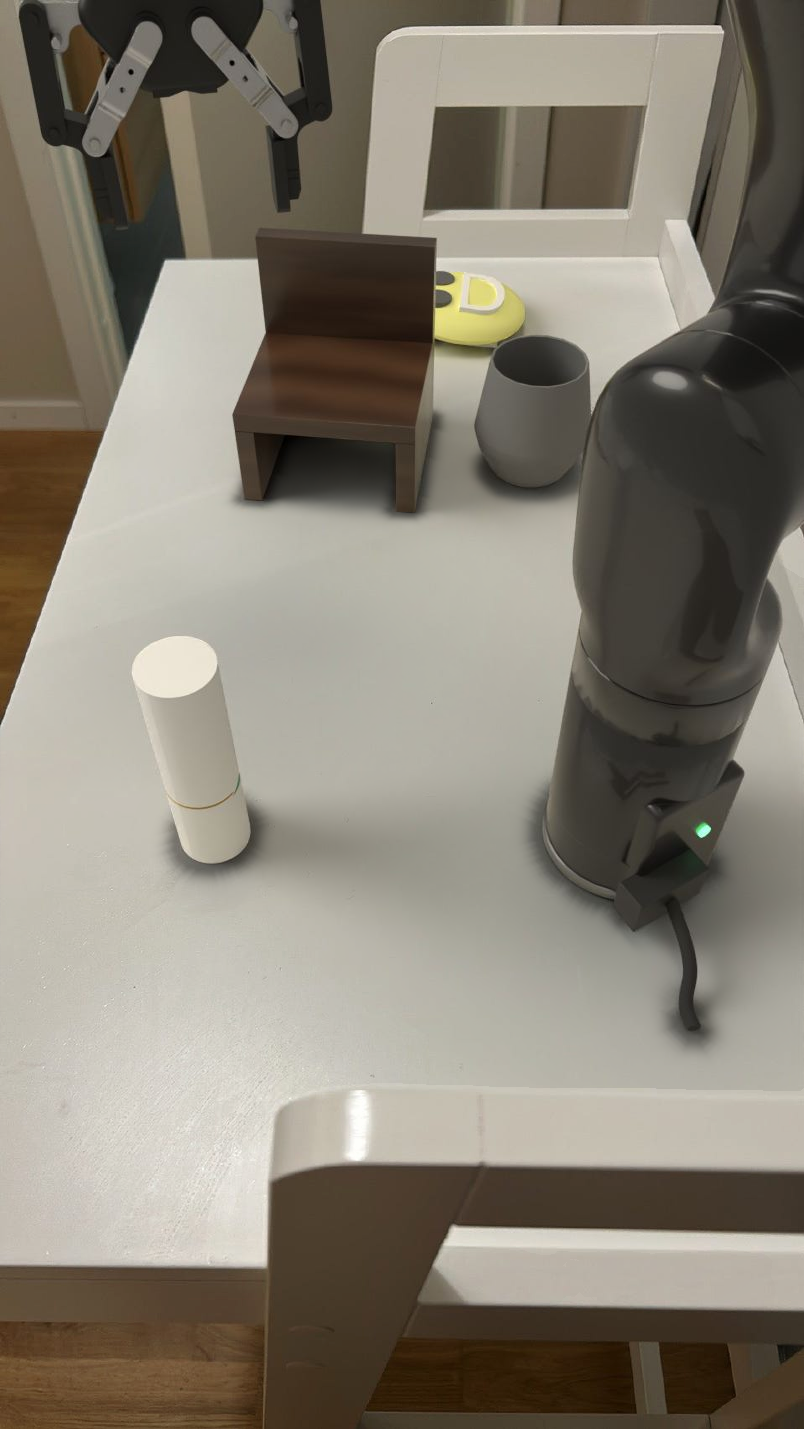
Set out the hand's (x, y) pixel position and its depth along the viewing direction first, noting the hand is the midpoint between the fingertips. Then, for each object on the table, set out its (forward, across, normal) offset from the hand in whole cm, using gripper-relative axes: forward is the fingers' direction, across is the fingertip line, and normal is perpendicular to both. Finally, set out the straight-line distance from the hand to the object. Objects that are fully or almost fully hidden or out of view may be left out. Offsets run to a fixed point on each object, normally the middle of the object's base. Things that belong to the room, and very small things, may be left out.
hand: (203, 215), depth 56 cm
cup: (+28, +24, +12) cm, 39 cm away
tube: (+29, -6, -20) cm, 35 cm away
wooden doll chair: (+28, +9, +16) cm, 34 cm away
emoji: (+28, +24, +35) cm, 51 cm away
